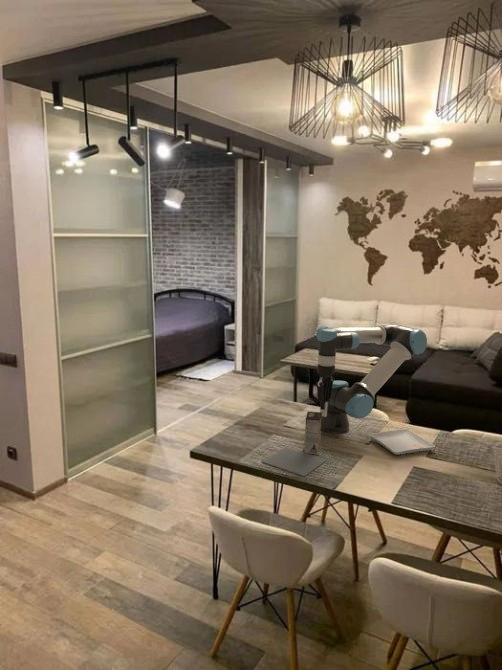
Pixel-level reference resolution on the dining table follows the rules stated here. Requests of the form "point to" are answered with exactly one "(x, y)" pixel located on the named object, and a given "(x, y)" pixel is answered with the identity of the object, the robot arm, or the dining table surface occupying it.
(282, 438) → the dining table surface
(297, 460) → the mat
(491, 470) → the dining table surface
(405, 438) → the salad plate
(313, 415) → the coffee box
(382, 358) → the robot arm
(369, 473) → the dining table surface
